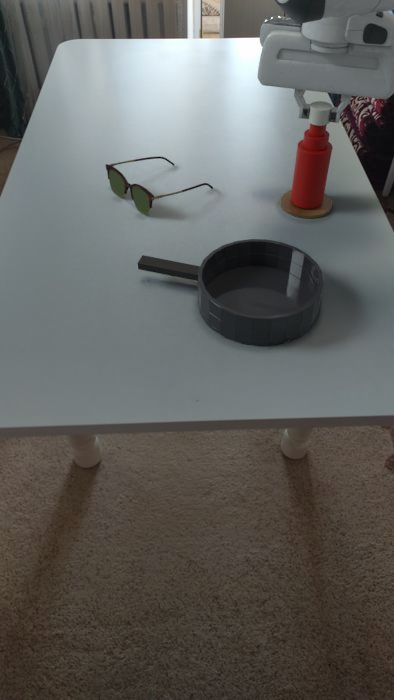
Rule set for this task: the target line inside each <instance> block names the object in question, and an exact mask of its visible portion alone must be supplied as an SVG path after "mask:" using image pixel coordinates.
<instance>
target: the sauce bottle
mask: <svg viewBox="0 0 394 700" xmlns="http://www.w3.org/2000/svg"><path fill="white" fill-rule="evenodd" d="M309 104H310V109H309V117H308V119H307V121H308V123H309V128H307V129H306V130H305V131H304V132H303V139H300V140H299V141H298V142H297V146H296V154H295V163H294V170H293V177H292V185H291V190H292V192H291V202H292V203H293V204H294V205H296V206H298V207H301V208H306V209H311V208H316V207H319V206H320V205H321V204H322V203H323V197H324V193H325V192H326V185H327V180H328V174H329V169H330V163H331V158H332V151H333V145H332V143H331V142H330V133H329V131H328V130H327V125H329V124H330V123H331V122H329V120H330V117H331V116H330V114H331V110H332V107H333V105H332V103H330V102H327V101H322V100H321V101H320V100H318V101H312V102H311V103H309Z"/></svg>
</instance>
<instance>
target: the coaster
mask: <svg viewBox="0 0 394 700" xmlns="http://www.w3.org/2000/svg"><path fill="white" fill-rule="evenodd" d="M291 192H292V189H290V190H288V191H286V192H284V194H282V195H281V197H280V202H279V203H280V207H281V208H282V210H283V211H284V212H286V213H287V214H289V215H291V216H293V217H296V218H300V219H318V218H322V217H325V216H327V215H328V214H329V213H330V212H331V210H332V208H333V201H332V198H331V197H330V196H329V195H328V194H326V193H325V192H324V197H323V203H322V204H321V205H320V206H319V207H316V208H311V209H306V208H301V207H298V206H296V205H294V204H293V203H292V202H291Z"/></svg>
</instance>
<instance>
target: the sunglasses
mask: <svg viewBox="0 0 394 700" xmlns="http://www.w3.org/2000/svg"><path fill="white" fill-rule="evenodd" d="M156 159H157V160H158V159H161V160H162V159H163V160H164V161H166V162H167V163H169V164H170V165H172V166H173V167H174V166H175V163H174V162H172V161H171V160H170V159H168V158H167V157H164V156H147V157H142V158H141V157H140V158H136V159H130V160H124V161H120V162H115V163H109V164H108V163H106V164H105V169H106V174H107V179H108V181H109V185H110V189H111V191H112V192H113V194H114V195H116V196H117V197H118V198H121V199H122V198H124V197H125V196H126V194H127V193H128V190H129V191H130V192H129V193H130V197H131V199H132V200H133V203H134V206H135V208H136V209H137V211H138V212H139V213H141V215H145V216H148V215H149V214H150V211H151V209H152V208H153V201H154V200H157V199H161V198H164V197H169V196H174V195H178V194H181V193H184V192H188V191H190V190H194V189H197V188H201V187H203V186H208V187H209V188H210V189H211V190H213V189H214V186H213V185H211V184H210V183H208V182H203V183H200V184H196V185H193V186H190V187H188V188H185V189H182V190H178V191H175V192H171V193H166V194H160V195H156V196H155V195H154V194H153V193H152V192H151V191H150V190H149V189H147V188H145V187H144V186H143V185H141V184H139V183H132V184H131V183H129V181H128V180H127V178H126V177H125V176H124V174H123V173H122V172H121V171H120V170H119V169H117V168H116V167H115V166H118V165H122V164H127V163H135V162H142V161H148V160H156Z"/></svg>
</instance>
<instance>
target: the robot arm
mask: <svg viewBox="0 0 394 700" xmlns="http://www.w3.org/2000/svg"><path fill="white" fill-rule="evenodd" d="M274 2H276V4H277V6H278V8H280V10H281V11H282V12H283V13H284V14H285V15H286V16H284V15H281V14H274V15H271V17H268V18H266V19H264V20H263V22H262V23H261V25H260V27H259V28H260V29H259V43H260V45H261V47H262V48H261V52H260V56H259V62H258V66H257V67H258V69H257V80H258V81H259V83H260V85H262V86H266V87H275V88H283V89H292V90H294V93H293V97H294V99H295V101H296V104H297V107H298V108H299V111H298V119H304V120H308V117H309V109H310V104H311V103H307V102H306V99H305V97H304V95H305V93H306V91H309V92H318V93H325V94H326V93H327V94H335V95H341V96H340V103H339V105H338V106H332V110H331V114H330V116H331V117H330V120H329V122H330V123H333V124H334V123H335V124H339V123H340V120H341V116H342V113H343V112H344V110H345V109H346V107H348V105H349V104H350V102H351V100H352V97H353V96H354V97H360V98H369V99H379V100H388V99H389V98H390V97H391V96H393V95H394V13H392V12H390V11H394V0H274Z"/></svg>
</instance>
